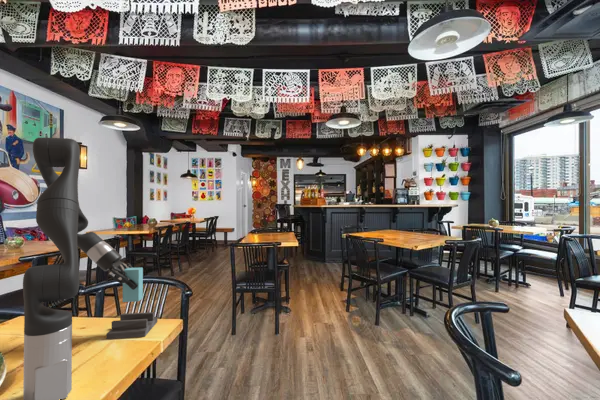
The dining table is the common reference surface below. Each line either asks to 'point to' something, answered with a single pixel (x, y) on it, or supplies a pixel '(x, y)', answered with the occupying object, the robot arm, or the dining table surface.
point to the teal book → (137, 277)
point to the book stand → (132, 325)
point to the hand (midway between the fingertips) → (138, 286)
